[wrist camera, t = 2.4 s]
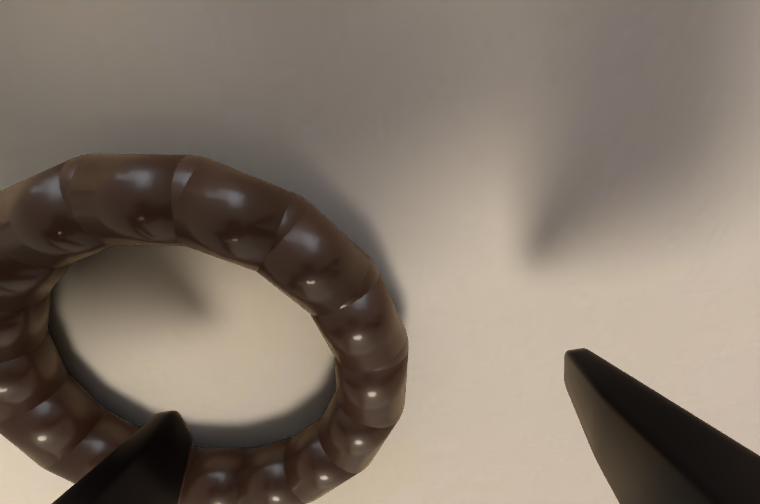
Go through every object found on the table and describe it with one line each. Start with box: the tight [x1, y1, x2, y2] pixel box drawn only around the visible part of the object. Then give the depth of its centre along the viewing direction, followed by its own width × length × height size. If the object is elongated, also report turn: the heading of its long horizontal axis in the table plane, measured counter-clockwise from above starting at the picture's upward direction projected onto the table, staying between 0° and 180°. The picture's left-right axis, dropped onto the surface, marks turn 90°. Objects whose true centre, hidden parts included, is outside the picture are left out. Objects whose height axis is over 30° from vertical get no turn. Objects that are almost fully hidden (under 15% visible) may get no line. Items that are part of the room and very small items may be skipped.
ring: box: [0, 154, 408, 504], centre depth 11 cm, size 12×12×2 cm
